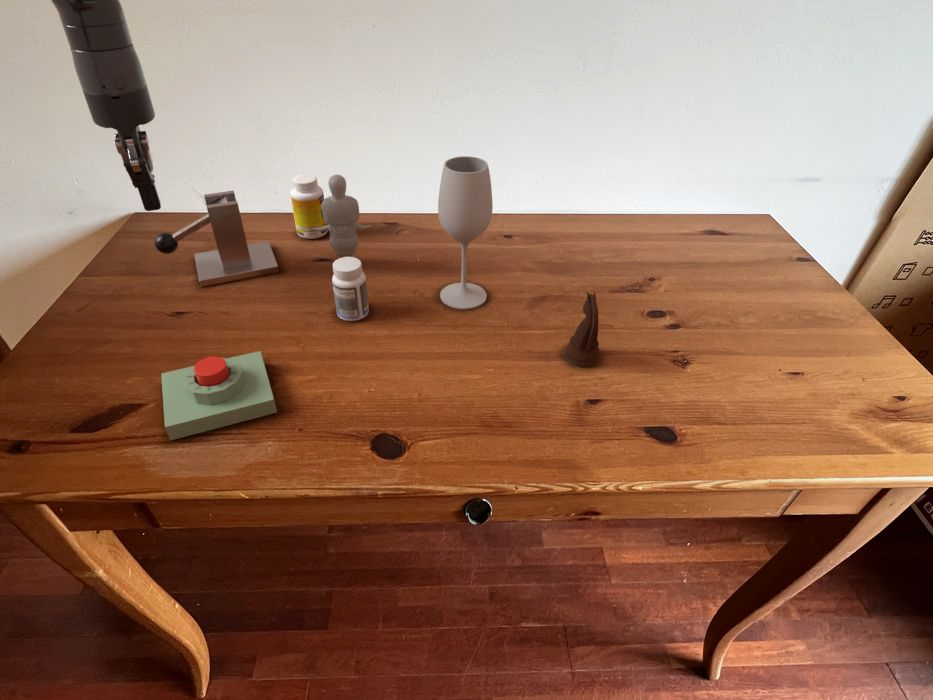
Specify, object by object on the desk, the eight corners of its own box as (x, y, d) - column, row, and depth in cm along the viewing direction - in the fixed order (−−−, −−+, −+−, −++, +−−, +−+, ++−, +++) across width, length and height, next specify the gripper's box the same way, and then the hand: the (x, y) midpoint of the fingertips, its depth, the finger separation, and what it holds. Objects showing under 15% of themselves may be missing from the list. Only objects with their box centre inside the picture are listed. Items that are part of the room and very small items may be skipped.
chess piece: (593, 345, 85) (605, 285, 78) (603, 369, 81) (616, 307, 74) (561, 347, 84) (570, 286, 78) (569, 370, 80) (580, 308, 74)
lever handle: (164, 261, 92) (150, 245, 90) (164, 251, 95) (149, 236, 93) (238, 217, 93) (225, 201, 91) (236, 209, 95) (223, 192, 93)
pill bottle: (356, 300, 92) (351, 251, 87) (375, 313, 90) (371, 263, 84) (330, 312, 90) (323, 262, 84) (349, 326, 87) (343, 276, 82)
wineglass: (434, 307, 91) (432, 173, 78) (444, 280, 97) (443, 152, 84) (484, 312, 90) (490, 178, 77) (490, 285, 96) (497, 156, 83)
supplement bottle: (329, 238, 107) (321, 183, 101) (297, 241, 106) (287, 186, 100) (327, 224, 112) (320, 171, 105) (296, 227, 111) (287, 173, 104)
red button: (198, 390, 70) (194, 378, 69) (196, 371, 73) (192, 360, 72) (231, 382, 72) (227, 371, 71) (227, 364, 74) (224, 353, 73)
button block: (170, 440, 69) (160, 415, 67) (166, 386, 76) (156, 362, 74) (277, 412, 73) (271, 388, 71) (263, 363, 80) (257, 339, 78)
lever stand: (200, 287, 94) (180, 217, 87) (196, 260, 101) (176, 193, 93) (279, 272, 98) (265, 204, 91) (269, 247, 105) (256, 181, 97)
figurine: (374, 253, 103) (367, 169, 94) (375, 265, 100) (368, 179, 91) (318, 256, 102) (305, 171, 93) (317, 268, 99) (303, 181, 90)
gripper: (84, 73, 82) (125, 194, 92) (78, 100, 72) (125, 232, 83) (144, 69, 84) (178, 187, 95) (146, 94, 75) (183, 223, 85)
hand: (153, 208), depth 89 cm, fingers closed
